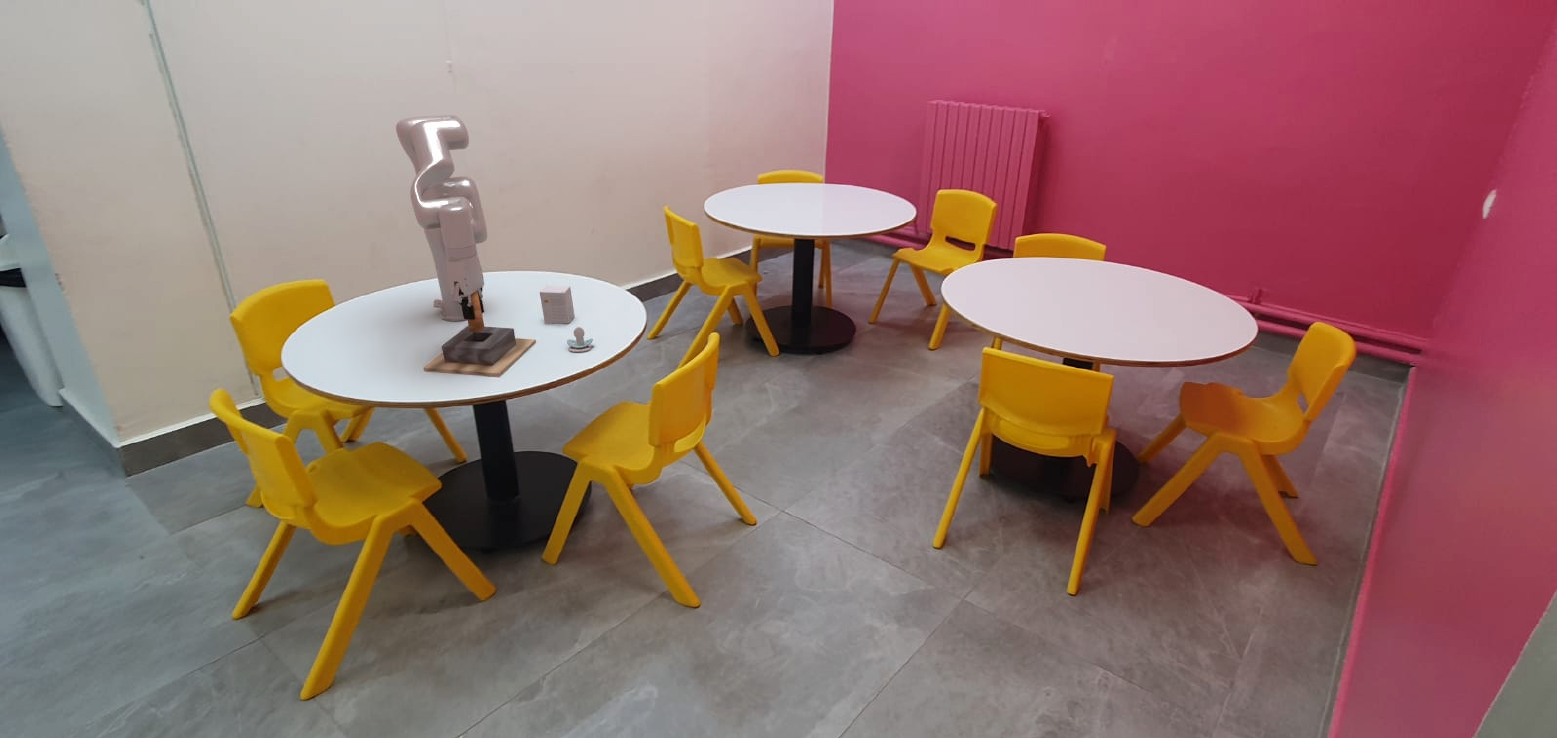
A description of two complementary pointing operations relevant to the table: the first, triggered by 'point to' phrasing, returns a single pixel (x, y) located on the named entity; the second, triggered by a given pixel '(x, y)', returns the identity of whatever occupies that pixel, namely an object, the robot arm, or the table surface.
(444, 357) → the socket
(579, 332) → the pacifier
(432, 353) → the table surface
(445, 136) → the robot arm
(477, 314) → the peg
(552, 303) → the small box
